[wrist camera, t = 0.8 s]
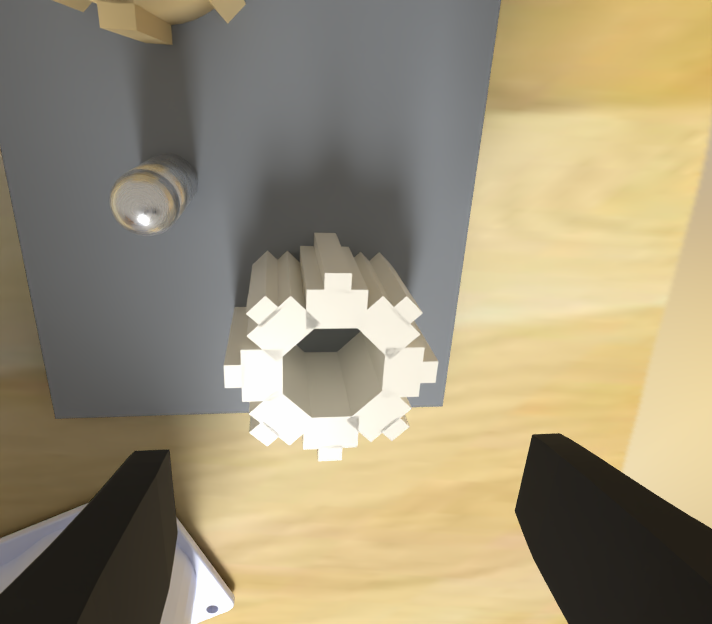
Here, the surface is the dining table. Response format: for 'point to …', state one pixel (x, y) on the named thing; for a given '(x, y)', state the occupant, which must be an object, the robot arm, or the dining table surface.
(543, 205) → the dining table surface
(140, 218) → the steel peg
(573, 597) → the robot arm
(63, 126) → the gear board
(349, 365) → the gear
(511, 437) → the dining table surface
